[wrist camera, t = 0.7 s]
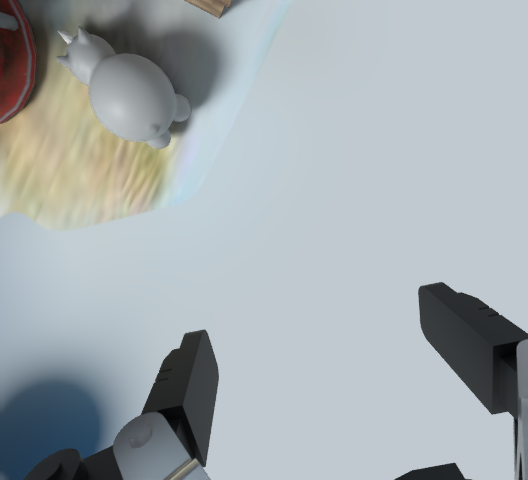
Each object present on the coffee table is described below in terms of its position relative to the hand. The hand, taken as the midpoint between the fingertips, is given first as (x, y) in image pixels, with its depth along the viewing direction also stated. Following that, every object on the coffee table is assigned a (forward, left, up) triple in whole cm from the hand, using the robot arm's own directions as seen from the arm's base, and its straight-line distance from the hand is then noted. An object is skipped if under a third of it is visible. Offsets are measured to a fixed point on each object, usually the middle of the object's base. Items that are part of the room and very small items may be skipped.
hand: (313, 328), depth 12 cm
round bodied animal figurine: (-12, +3, -29) cm, 32 cm away
